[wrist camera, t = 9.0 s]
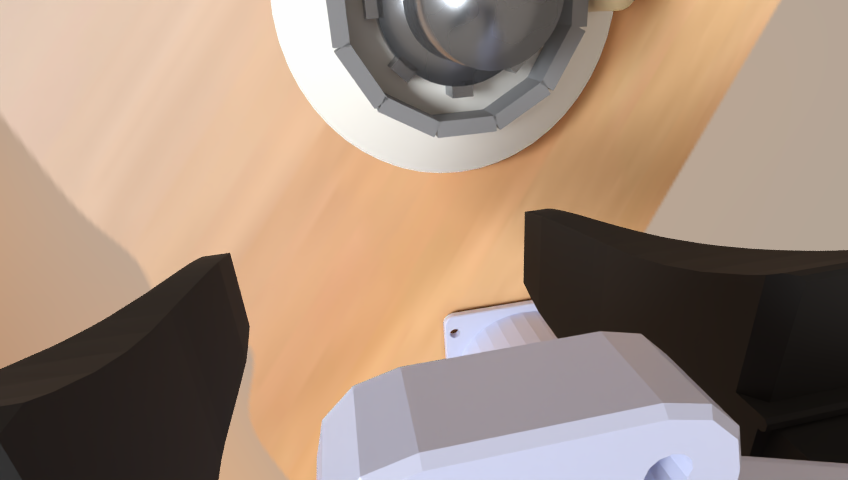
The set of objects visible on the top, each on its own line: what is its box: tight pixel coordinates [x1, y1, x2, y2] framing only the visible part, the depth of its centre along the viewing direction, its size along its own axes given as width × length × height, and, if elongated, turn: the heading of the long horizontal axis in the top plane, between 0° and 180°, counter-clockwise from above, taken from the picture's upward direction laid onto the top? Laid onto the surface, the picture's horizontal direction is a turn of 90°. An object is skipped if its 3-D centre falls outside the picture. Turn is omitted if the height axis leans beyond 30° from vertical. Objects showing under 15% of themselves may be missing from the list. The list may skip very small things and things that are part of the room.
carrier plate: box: [271, 0, 634, 173], centre depth 18 cm, size 13×13×3 cm
